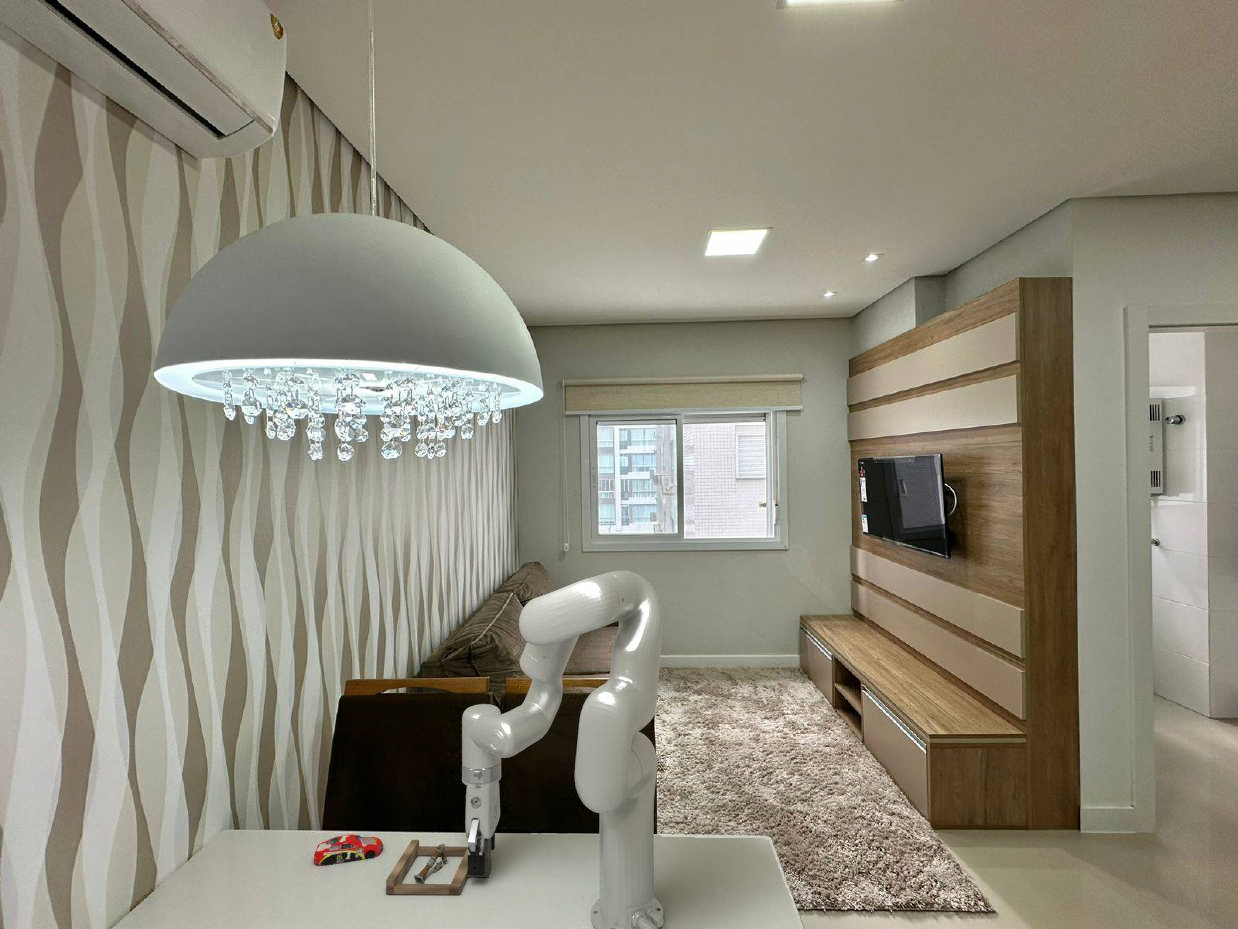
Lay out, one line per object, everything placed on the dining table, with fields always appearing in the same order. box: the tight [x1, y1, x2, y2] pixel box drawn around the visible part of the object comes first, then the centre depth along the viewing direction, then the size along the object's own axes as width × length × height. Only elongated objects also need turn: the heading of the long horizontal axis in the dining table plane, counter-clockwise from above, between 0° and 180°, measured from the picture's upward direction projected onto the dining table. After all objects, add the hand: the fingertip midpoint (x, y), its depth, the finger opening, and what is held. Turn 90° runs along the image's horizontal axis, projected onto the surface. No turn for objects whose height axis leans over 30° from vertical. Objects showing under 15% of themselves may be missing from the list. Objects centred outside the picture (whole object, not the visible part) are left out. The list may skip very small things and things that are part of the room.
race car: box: [313, 834, 384, 867], centre depth 139 cm, size 13×5×4 cm, turn 105°
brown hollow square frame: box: [385, 833, 492, 896], centre depth 132 cm, size 14×18×7 cm
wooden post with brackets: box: [413, 842, 448, 884], centre depth 133 cm, size 2×8×4 cm, turn 154°
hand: (481, 861), depth 132 cm, fingers open, 8 cm apart
